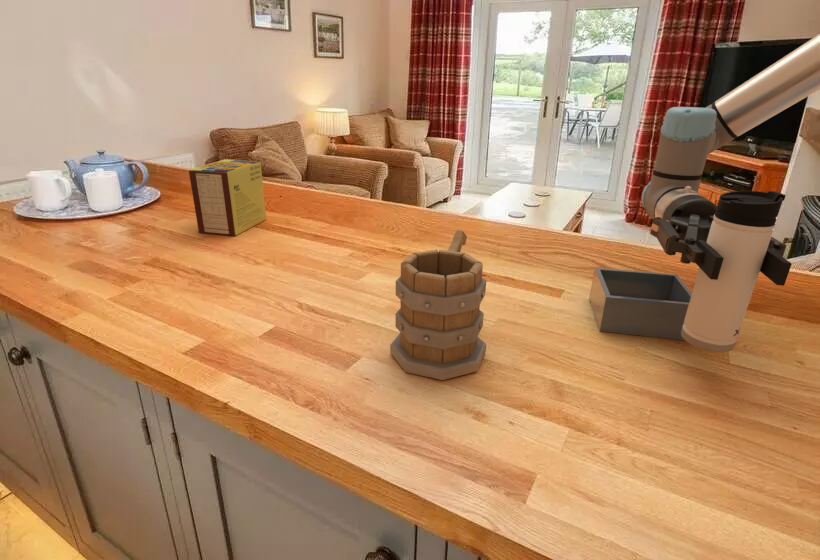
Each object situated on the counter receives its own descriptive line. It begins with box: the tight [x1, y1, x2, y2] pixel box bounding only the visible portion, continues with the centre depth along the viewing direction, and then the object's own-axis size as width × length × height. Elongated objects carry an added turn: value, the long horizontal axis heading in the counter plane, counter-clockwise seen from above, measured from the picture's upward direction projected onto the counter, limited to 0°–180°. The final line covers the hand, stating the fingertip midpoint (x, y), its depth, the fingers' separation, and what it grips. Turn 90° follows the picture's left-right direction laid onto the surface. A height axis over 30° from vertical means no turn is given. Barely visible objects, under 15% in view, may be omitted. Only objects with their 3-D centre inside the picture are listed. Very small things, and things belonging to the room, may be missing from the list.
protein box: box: [188, 158, 267, 237], centre depth 123 cm, size 10×15×16 cm
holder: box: [588, 267, 692, 341], centre depth 80 cm, size 14×13×6 cm
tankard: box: [389, 229, 487, 381], centre depth 70 cm, size 20×13×15 cm, turn 160°
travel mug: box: [681, 190, 786, 353], centre depth 61 cm, size 6×7×20 cm
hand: (750, 271), depth 56 cm, fingers closed on travel mug, 6 cm apart
